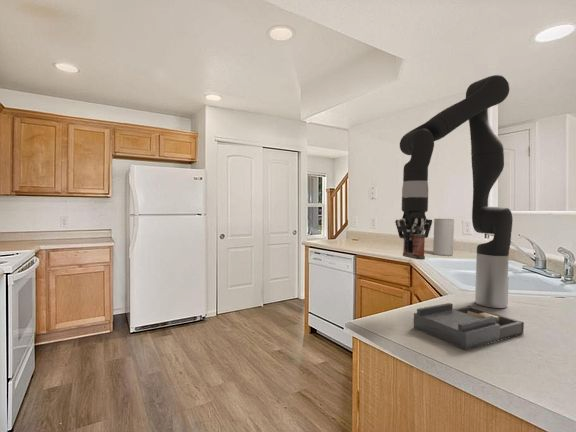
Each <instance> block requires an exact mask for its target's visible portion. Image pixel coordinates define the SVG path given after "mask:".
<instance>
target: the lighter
mask: <svg viewBox="0 0 576 432" xmlns="http://www.w3.org/2000/svg"><path fill="white" fill-rule="evenodd" d="M408 230H411V229H408ZM419 230H423V226H416V230H415V233H414V234H413V239H412V241H413V251H412V253H407V252H405V240H404V239H403V248H402V249H403V250H402V251H403V252H402V257H405V258H409V259H413V260H421V261H423V260H426V259H425V258H426V257H425V239H426V238H425V233H423V234H420V231H419ZM408 236H409V233H408Z"/></svg>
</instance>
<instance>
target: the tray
mask: <svg viewBox="0 0 576 432" xmlns="http://www.w3.org/2000/svg"><path fill="white" fill-rule="evenodd" d="M453 310H457V311H460V312H463V313H466V314H467V312H468V311H471V312H474V313H477V314H479V313H484V312H485V313H488V314H492V315H495V316H498V317H499V325H500V336H499V340H500V341H502V340H501V339H503V340H506V339H505V338H507V339H509V338H508V337H510V338H513V336H514V337H516V335H517V336H520V335H524V329H525V327H524V326H525V325H524V324H525V322H524V321H520V320H517V319H513V318H510V317H507V316H505V315H504V316H503V315H501V314H497V313H495V312H491V311H487V310H483V309H481V308H477V307H474V306H471V305H468V306H463V307H458V308H453Z"/></svg>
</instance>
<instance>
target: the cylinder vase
mask: <svg viewBox="0 0 576 432" xmlns="http://www.w3.org/2000/svg"><path fill="white" fill-rule="evenodd" d="M454 224H455V219H454V218H434V219H433V242H432V243H433V245H432V248H433V249H432V251H433V255H435V256H441V255H444V256H443V257H449V256H450V257H451V255H452V256H453V254H454V237H455V236H454V235H455V233H454V231H455V225H454Z"/></svg>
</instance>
